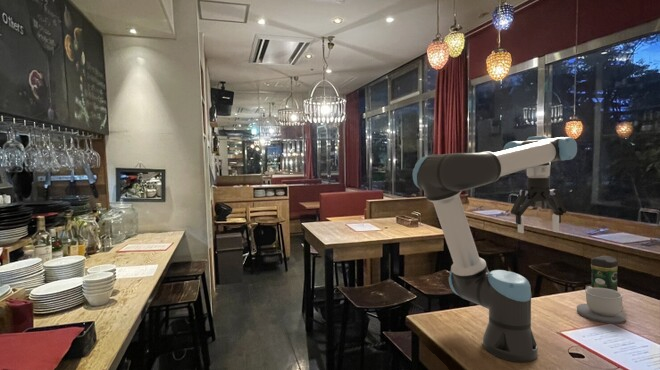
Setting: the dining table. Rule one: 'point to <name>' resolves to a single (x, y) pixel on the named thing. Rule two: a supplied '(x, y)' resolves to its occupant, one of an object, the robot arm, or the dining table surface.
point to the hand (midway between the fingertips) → (538, 232)
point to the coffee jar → (604, 272)
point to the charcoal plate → (589, 314)
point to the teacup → (604, 301)
